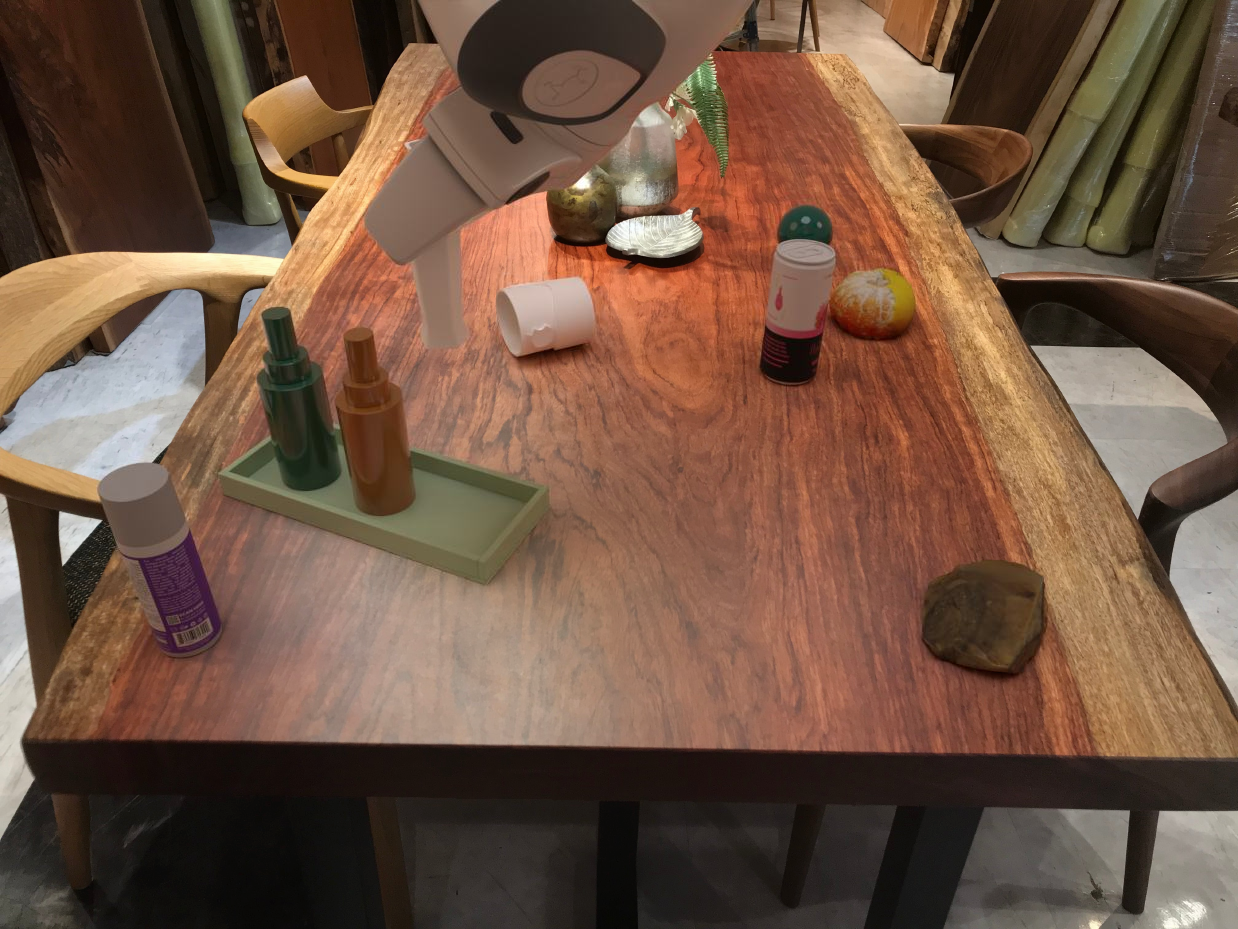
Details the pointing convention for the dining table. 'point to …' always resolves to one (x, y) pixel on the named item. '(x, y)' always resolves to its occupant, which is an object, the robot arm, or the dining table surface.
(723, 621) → the dining table surface
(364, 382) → the bottle
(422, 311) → the perfume bottle
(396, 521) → the tray
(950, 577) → the decorative stone
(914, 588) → the dining table surface
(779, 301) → the beverage can
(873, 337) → the fruit
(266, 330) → the bottle
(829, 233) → the sphere
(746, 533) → the dining table surface
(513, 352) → the white hollow cylinder
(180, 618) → the container
